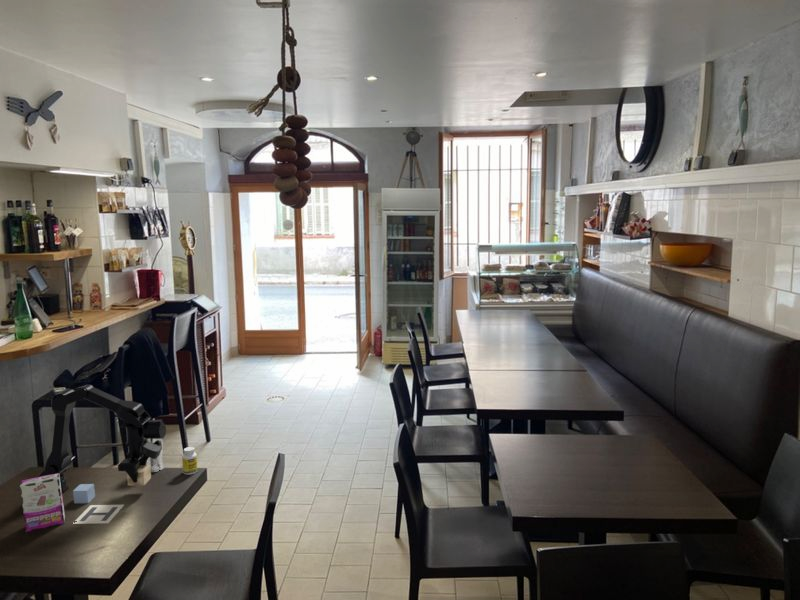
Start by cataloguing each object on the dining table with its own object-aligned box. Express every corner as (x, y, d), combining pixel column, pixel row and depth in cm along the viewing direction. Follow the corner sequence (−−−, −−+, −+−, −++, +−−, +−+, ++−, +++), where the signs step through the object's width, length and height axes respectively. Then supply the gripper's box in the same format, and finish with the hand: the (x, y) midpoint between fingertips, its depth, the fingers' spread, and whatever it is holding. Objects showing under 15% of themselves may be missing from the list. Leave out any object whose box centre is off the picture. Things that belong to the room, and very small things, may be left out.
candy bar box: (65, 516, 200) (60, 472, 197) (64, 523, 196) (59, 478, 193) (26, 525, 195) (21, 479, 192) (25, 532, 191) (19, 486, 188)
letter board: (72, 523, 196) (72, 523, 196) (90, 505, 207) (90, 505, 207) (108, 523, 196) (108, 523, 196) (124, 504, 208) (124, 504, 208)
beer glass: (142, 470, 234) (139, 435, 231) (156, 463, 240) (153, 429, 237) (154, 474, 231) (151, 438, 228) (168, 467, 237) (165, 432, 234)
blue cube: (74, 503, 209) (72, 490, 208) (81, 496, 214) (80, 484, 213) (88, 503, 209) (86, 490, 208) (95, 496, 214) (94, 483, 213)
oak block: (127, 485, 213) (126, 472, 212) (135, 477, 219) (133, 465, 218) (144, 485, 213) (143, 472, 212) (151, 477, 219) (150, 465, 218)
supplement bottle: (189, 476, 229) (187, 452, 227) (180, 473, 232) (178, 449, 230) (200, 470, 233) (198, 447, 232) (191, 467, 236) (189, 444, 234)
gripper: (147, 448, 204) (150, 490, 206) (167, 428, 222) (170, 466, 225) (115, 449, 204) (119, 490, 206) (138, 428, 222) (141, 466, 225)
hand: (139, 478), depth 216 cm, fingers closed on oak block, 6 cm apart
